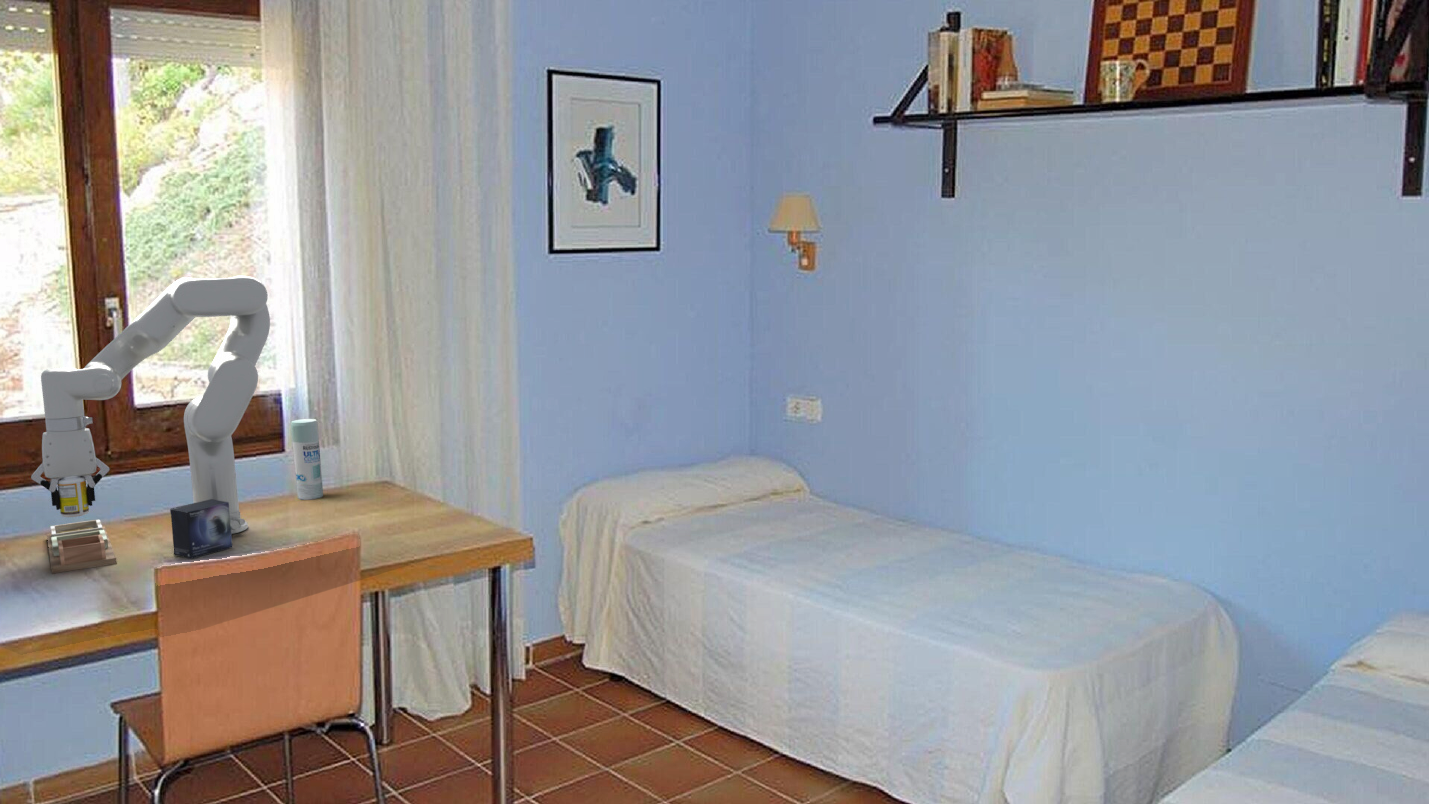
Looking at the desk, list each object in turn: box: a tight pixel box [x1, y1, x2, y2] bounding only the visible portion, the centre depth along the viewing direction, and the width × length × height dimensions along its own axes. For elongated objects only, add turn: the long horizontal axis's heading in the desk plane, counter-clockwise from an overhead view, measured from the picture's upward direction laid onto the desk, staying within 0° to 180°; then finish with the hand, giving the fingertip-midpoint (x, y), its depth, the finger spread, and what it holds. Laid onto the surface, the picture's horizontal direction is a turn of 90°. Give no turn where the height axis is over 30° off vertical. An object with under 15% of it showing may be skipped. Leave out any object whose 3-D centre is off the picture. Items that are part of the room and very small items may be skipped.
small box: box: [169, 499, 233, 559], centre depth 263 cm, size 11×6×10 cm, turn 148°
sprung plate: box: [60, 527, 93, 533], centre depth 277 cm, size 7×7×1 cm
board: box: [46, 519, 117, 574], centre depth 268 cm, size 34×12×5 cm, turn 30°
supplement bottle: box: [57, 476, 90, 518], centre depth 265 cm, size 6×6×10 cm
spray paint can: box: [290, 418, 324, 501], centre depth 313 cm, size 6×6×20 cm
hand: (74, 505), depth 265 cm, fingers closed on supplement bottle, 5 cm apart
